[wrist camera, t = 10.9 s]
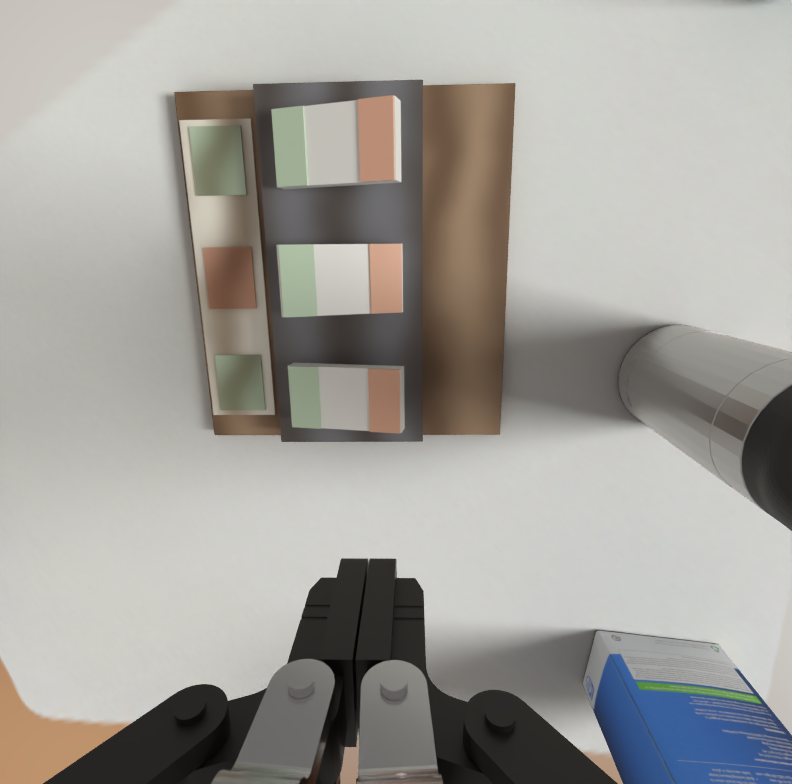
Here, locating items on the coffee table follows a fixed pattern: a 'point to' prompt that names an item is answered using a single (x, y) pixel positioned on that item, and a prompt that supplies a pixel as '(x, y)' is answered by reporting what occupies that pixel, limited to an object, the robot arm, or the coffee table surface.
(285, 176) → the switch
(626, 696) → the string lights box
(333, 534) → the coffee table surface
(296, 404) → the switch
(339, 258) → the switch
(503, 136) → the switch unit
